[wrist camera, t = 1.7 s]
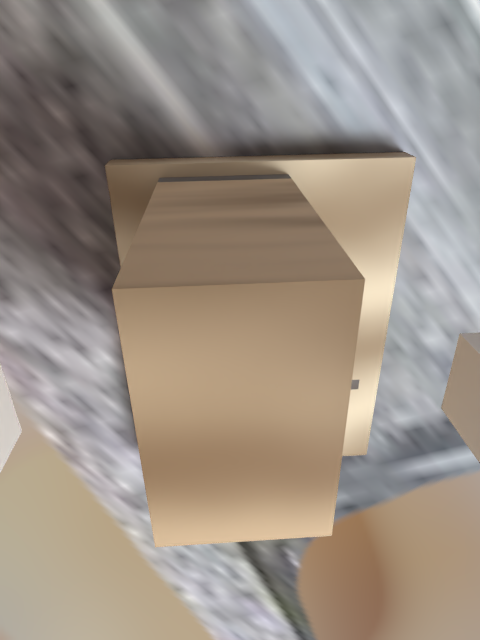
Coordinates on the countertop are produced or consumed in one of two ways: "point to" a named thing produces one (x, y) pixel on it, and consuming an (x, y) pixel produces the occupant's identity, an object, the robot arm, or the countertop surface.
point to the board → (338, 215)
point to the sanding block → (238, 358)
